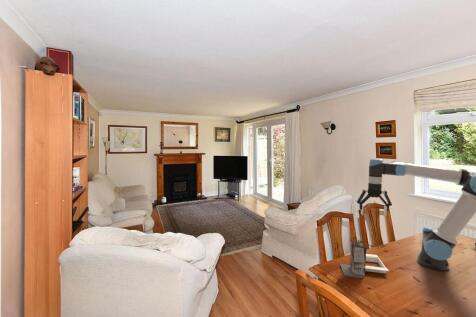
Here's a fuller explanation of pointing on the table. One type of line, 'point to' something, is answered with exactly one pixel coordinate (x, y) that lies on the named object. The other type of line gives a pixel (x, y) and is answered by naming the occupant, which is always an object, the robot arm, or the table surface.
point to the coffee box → (358, 257)
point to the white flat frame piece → (375, 269)
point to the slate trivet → (349, 271)
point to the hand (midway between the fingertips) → (373, 215)
